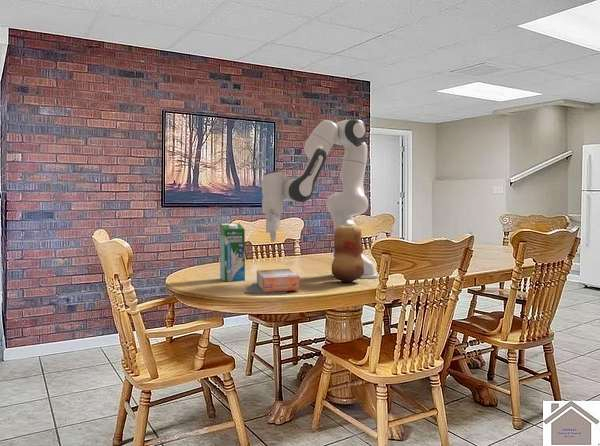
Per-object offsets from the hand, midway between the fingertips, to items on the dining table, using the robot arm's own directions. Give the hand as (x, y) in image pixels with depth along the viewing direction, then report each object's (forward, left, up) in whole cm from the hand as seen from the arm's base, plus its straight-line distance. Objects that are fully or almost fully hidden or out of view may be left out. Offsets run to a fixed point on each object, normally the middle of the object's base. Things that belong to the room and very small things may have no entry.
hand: (273, 241), depth 211 cm
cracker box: (0, +2, -15) cm, 15 cm away
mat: (0, +14, -18) cm, 22 cm away
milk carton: (+19, -8, -18) cm, 28 cm away
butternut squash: (-32, -3, -18) cm, 37 cm away
